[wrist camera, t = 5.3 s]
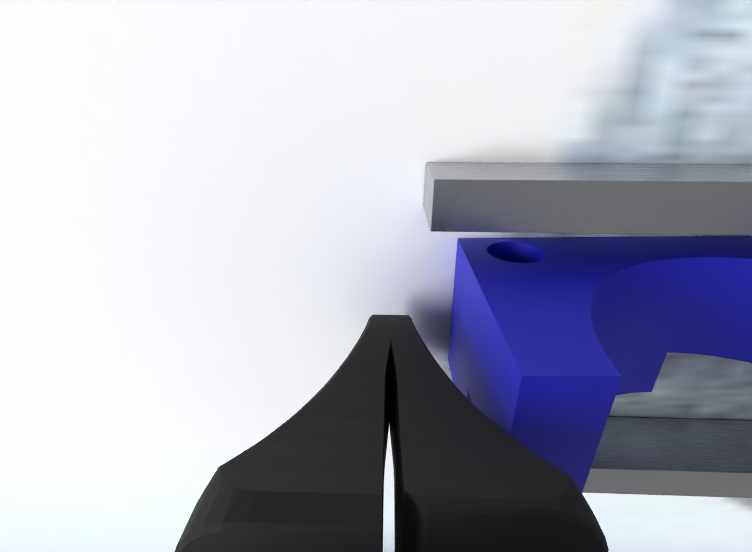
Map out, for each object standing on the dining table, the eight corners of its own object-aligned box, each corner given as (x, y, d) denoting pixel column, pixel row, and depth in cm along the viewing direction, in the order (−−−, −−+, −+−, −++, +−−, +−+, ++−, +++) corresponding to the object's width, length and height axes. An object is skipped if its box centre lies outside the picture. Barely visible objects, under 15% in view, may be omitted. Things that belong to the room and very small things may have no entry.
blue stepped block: (448, 359, 13) (489, 546, 8) (457, 238, 11) (522, 375, 6) (806, 360, 13) (1116, 560, 7) (882, 234, 11) (1386, 380, 5)
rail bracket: (813, 445, 14) (882, 502, 12) (410, 434, 15) (413, 487, 13) (1020, 165, 10) (1180, 185, 8) (425, 162, 10) (434, 179, 8)
